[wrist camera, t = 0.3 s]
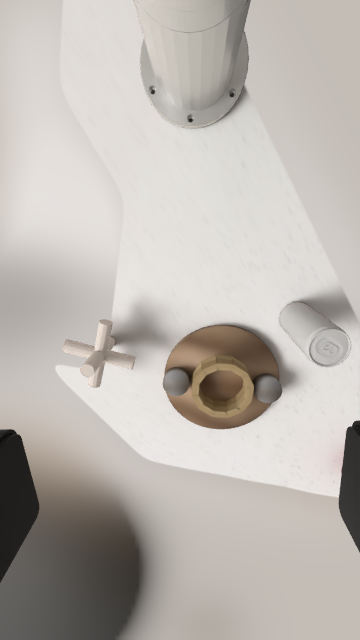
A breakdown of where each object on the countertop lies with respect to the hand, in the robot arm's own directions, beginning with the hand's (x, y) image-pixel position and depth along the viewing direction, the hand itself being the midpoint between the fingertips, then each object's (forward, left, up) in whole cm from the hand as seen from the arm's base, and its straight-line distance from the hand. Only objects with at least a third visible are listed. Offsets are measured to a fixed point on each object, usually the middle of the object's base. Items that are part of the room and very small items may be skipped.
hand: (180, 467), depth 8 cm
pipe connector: (+11, -13, -36) cm, 39 cm away
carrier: (+16, +5, -35) cm, 39 cm away
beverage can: (+5, +15, -36) cm, 39 cm away
